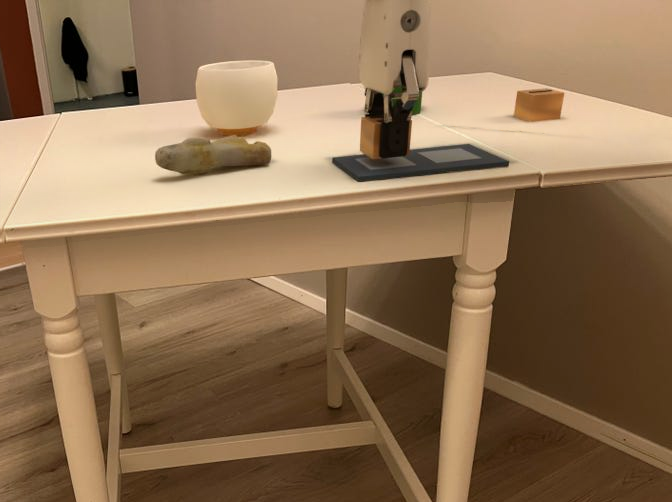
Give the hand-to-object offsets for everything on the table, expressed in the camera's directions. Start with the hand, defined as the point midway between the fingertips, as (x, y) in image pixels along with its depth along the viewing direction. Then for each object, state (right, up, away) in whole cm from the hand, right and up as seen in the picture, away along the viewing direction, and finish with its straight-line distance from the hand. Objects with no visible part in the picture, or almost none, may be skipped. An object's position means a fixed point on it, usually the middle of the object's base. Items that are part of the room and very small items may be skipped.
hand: (384, 150), depth 84 cm
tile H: (0, 0, 0) cm, 0 cm away
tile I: (+27, +10, +18) cm, 34 cm away
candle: (+10, +15, +31) cm, 36 cm away
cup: (-16, +10, +25) cm, 32 cm away
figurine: (-21, -1, +6) cm, 21 cm away
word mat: (+4, -1, +1) cm, 5 cm away
